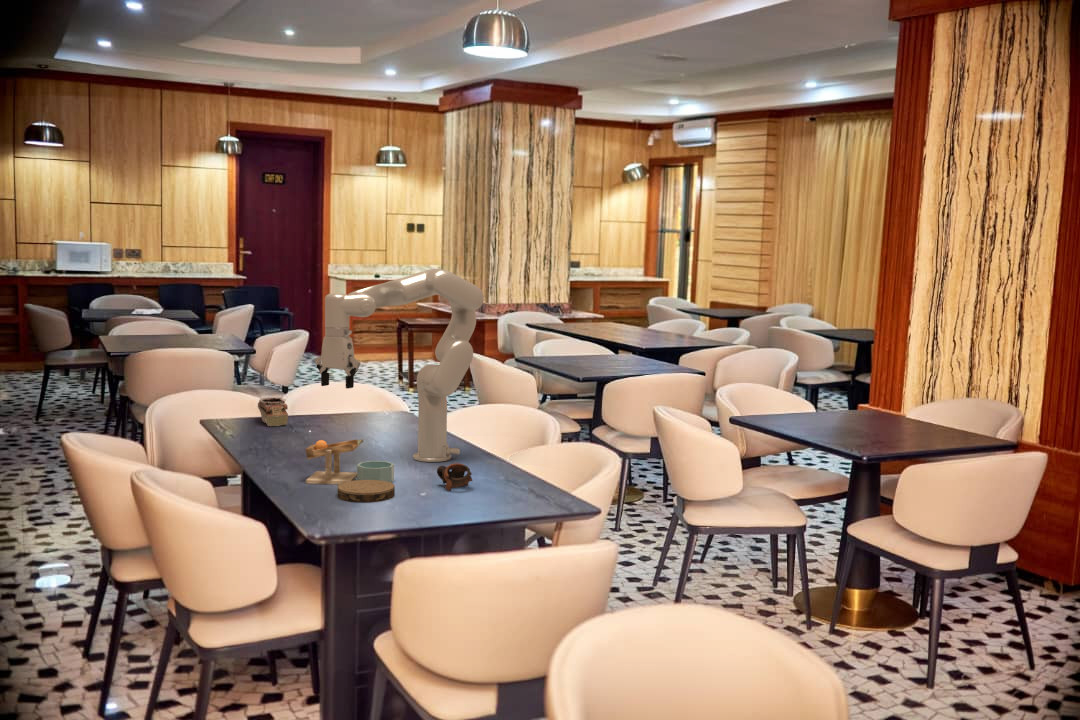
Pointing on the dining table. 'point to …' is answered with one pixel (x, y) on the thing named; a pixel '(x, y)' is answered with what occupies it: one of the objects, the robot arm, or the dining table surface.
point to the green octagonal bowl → (376, 471)
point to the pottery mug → (454, 475)
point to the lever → (333, 448)
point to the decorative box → (273, 411)
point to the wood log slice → (366, 491)
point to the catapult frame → (330, 476)
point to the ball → (320, 444)
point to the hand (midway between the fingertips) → (337, 386)
